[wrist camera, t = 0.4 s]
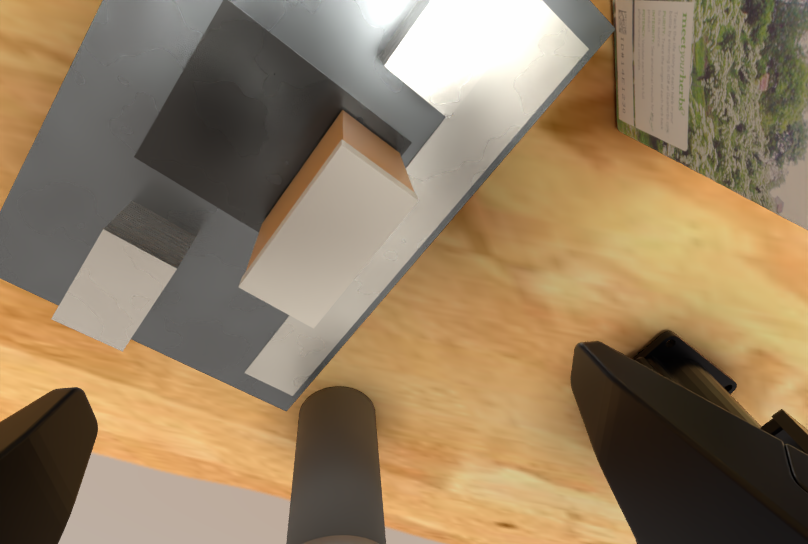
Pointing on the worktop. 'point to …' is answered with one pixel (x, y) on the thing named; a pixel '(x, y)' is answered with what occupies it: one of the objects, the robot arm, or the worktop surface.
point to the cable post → (336, 472)
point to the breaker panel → (263, 158)
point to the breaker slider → (329, 222)
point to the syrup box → (720, 92)
